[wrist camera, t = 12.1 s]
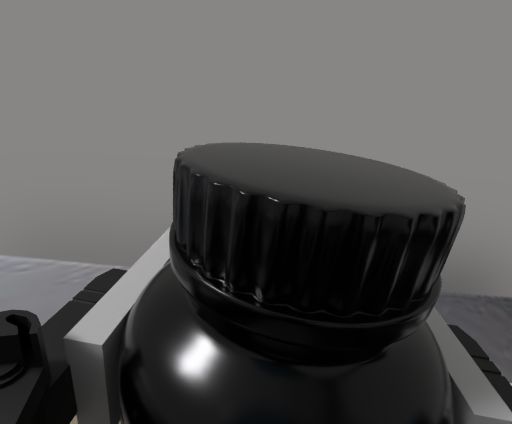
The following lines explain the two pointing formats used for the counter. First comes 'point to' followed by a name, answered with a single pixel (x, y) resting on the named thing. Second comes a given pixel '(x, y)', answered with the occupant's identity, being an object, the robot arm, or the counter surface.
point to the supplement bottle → (293, 294)
